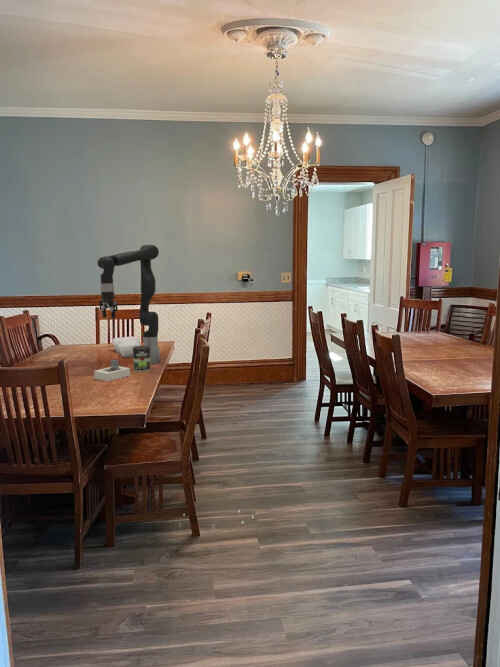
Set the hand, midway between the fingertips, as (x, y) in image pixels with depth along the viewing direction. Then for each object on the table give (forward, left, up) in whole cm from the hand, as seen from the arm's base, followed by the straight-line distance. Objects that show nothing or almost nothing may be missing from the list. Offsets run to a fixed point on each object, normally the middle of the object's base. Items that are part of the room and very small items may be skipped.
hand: (109, 317), depth 307 cm
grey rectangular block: (+11, +15, -32) cm, 37 cm away
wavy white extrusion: (-38, -33, -32) cm, 60 cm away
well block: (+11, +15, -32) cm, 37 cm away
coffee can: (-11, +15, -32) cm, 37 cm away
